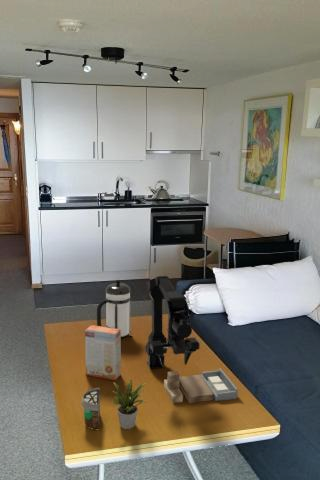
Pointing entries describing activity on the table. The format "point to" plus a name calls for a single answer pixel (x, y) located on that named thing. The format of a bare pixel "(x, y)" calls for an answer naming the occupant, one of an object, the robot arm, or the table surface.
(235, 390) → the grey tray
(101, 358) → the cracker box
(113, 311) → the coffee press
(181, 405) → the table surface
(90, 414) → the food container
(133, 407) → the house plant
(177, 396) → the beige l-shaped block
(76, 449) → the table surface
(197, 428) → the table surface
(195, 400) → the tan flat block
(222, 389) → the cream tile
